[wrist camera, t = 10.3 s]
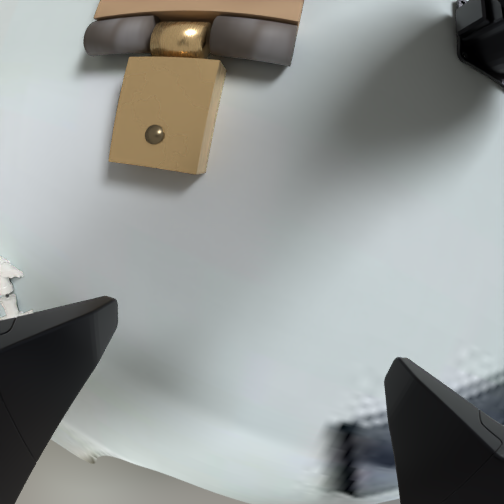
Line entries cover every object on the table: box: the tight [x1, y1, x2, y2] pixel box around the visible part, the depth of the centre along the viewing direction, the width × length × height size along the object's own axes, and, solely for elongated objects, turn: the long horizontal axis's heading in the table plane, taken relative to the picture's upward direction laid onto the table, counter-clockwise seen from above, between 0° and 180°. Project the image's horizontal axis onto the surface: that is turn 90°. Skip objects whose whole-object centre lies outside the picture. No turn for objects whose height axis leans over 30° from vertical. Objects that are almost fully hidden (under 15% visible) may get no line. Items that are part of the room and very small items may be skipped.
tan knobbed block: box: [109, 22, 227, 175], centre depth 16 cm, size 10×6×3 cm, turn 168°
